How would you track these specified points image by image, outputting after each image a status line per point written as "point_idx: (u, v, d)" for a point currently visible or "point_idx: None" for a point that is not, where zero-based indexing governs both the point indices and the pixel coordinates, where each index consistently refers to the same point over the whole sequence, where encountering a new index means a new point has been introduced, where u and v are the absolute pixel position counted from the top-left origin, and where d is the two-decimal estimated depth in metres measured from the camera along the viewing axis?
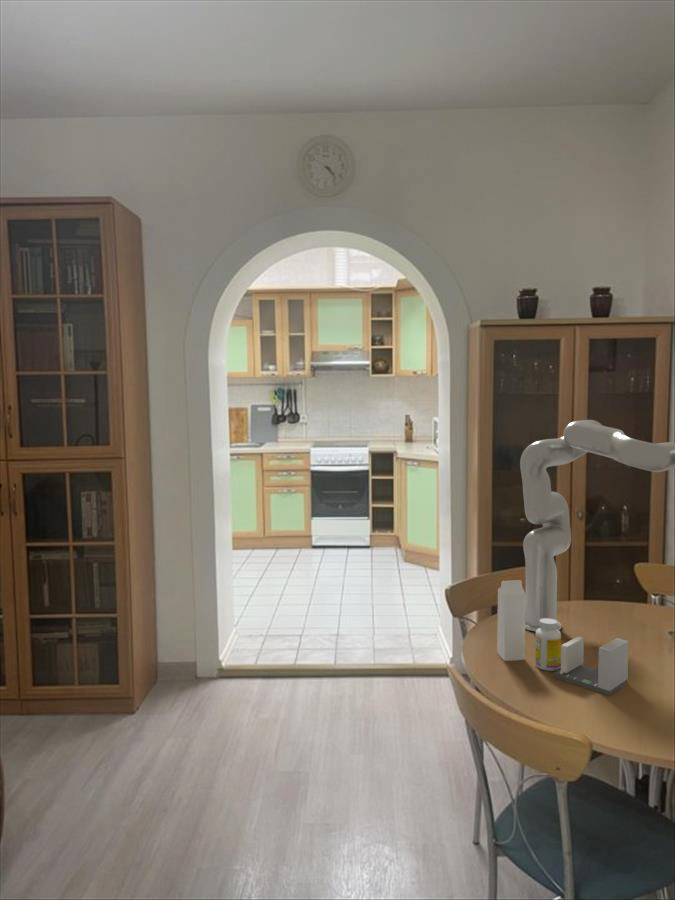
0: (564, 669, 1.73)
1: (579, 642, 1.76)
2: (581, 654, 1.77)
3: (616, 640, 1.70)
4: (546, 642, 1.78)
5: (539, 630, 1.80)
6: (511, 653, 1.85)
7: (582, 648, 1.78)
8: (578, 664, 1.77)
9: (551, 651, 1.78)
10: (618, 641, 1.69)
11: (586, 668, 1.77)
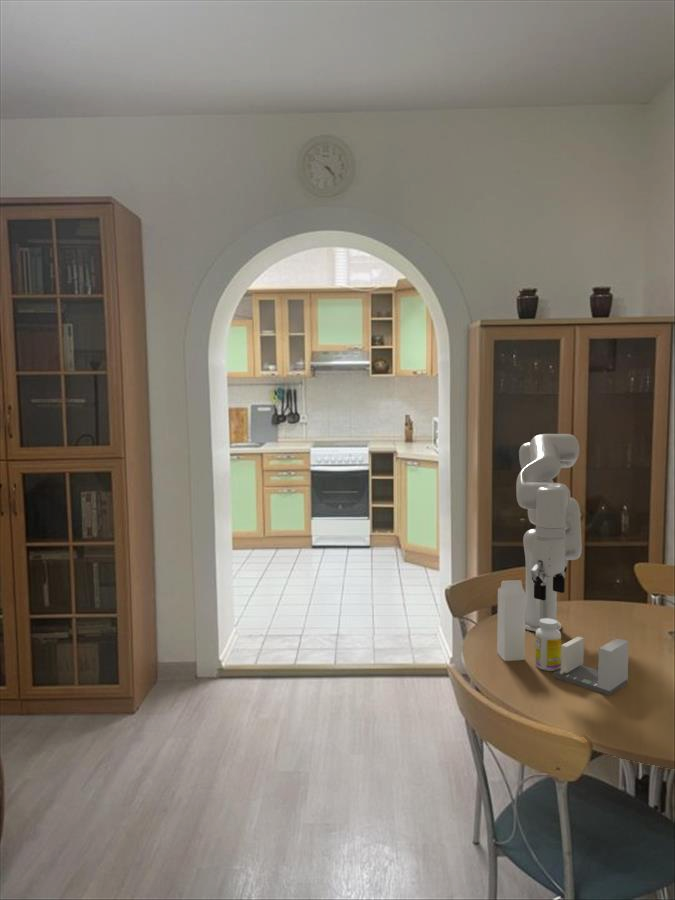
0: (564, 669, 1.73)
1: (579, 642, 1.76)
2: (581, 654, 1.77)
3: (616, 640, 1.70)
4: (546, 642, 1.78)
5: (539, 630, 1.80)
6: (511, 653, 1.85)
7: (582, 648, 1.78)
8: (578, 664, 1.77)
9: (551, 651, 1.78)
10: (618, 641, 1.69)
11: (586, 668, 1.77)
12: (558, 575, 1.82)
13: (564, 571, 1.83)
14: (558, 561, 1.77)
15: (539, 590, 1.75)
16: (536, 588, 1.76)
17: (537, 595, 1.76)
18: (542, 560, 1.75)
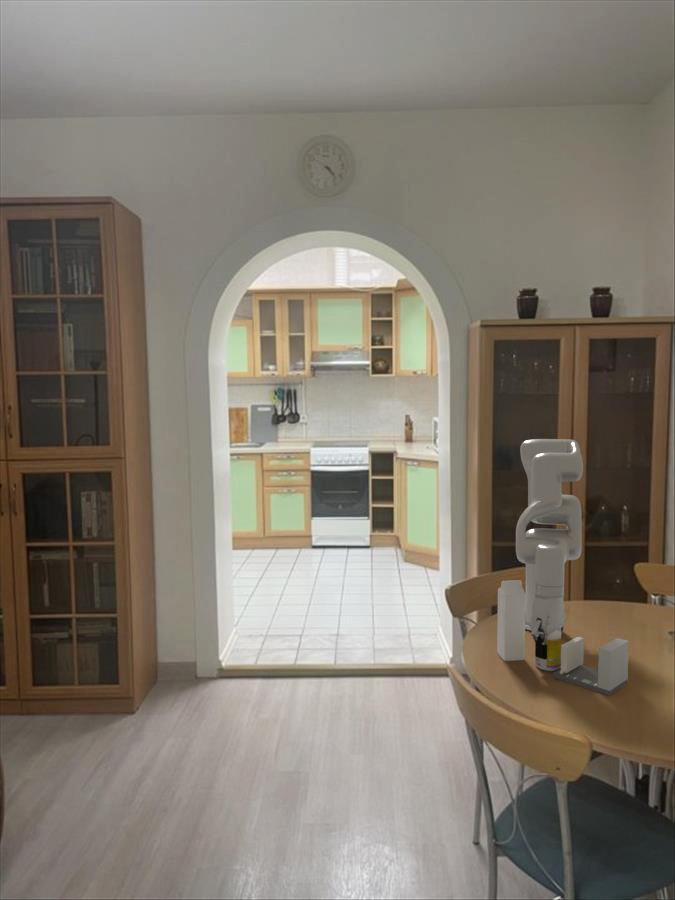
0: (564, 669, 1.73)
1: (579, 642, 1.76)
2: (581, 654, 1.77)
3: (616, 640, 1.70)
4: (546, 642, 1.78)
5: None
6: (511, 653, 1.85)
7: (582, 648, 1.78)
8: (578, 664, 1.77)
9: (551, 651, 1.78)
10: (618, 641, 1.69)
11: (586, 668, 1.77)
12: None
13: (561, 630, 1.84)
14: (557, 618, 1.79)
15: (540, 649, 1.77)
16: (537, 647, 1.78)
17: (538, 654, 1.78)
18: (541, 619, 1.76)
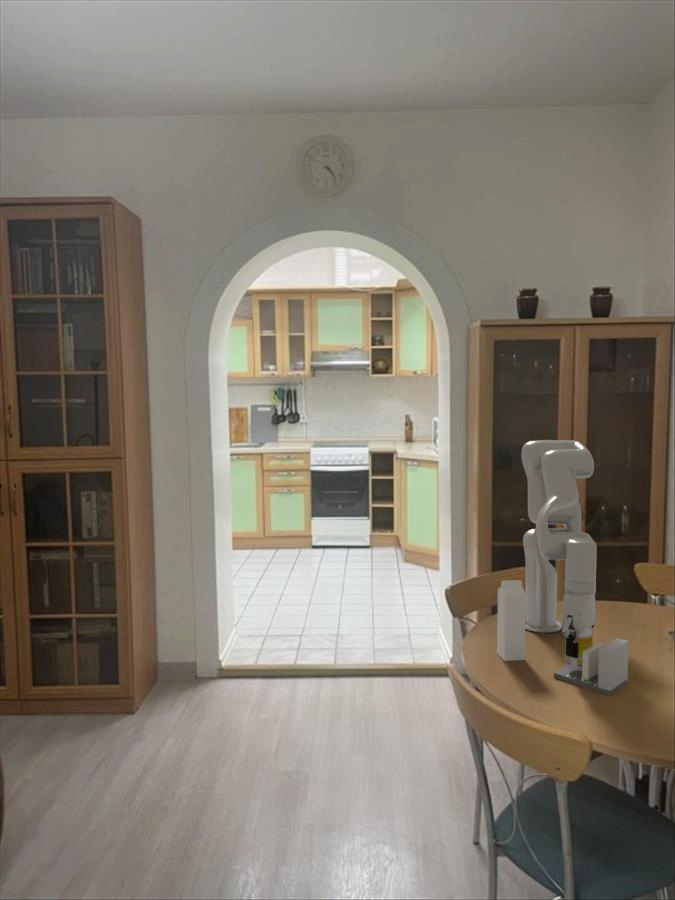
0: (585, 676, 1.69)
1: None
2: None
3: (616, 640, 1.70)
4: (577, 640, 1.71)
5: None
6: (511, 653, 1.85)
7: None
8: None
9: (582, 650, 1.71)
10: (618, 641, 1.69)
11: None
12: None
13: (591, 627, 1.77)
14: (588, 615, 1.72)
15: (571, 648, 1.71)
16: (568, 645, 1.71)
17: (569, 652, 1.71)
18: (572, 617, 1.70)
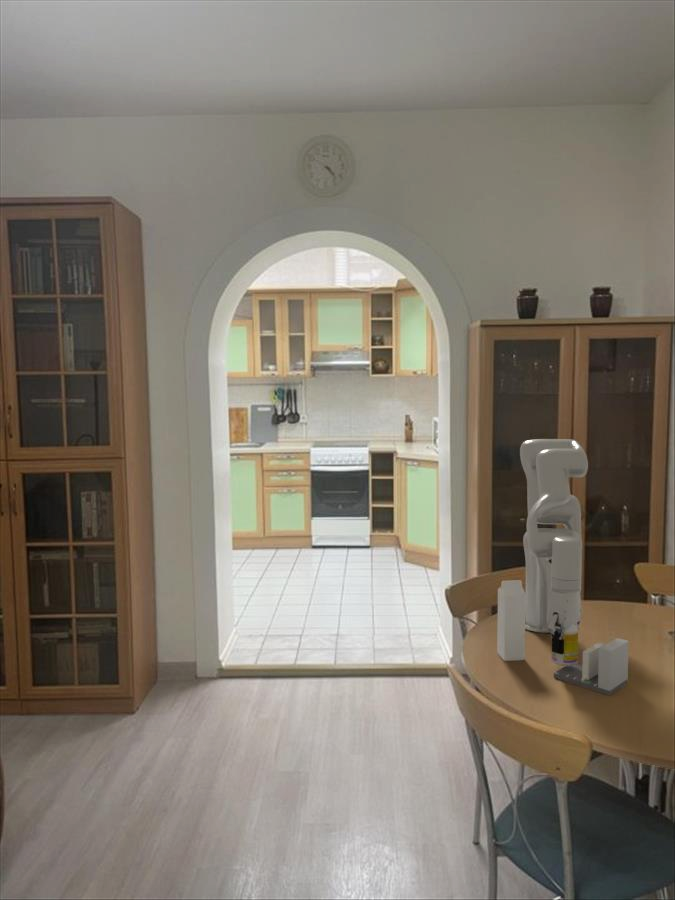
0: (586, 676, 1.68)
1: None
2: None
3: (616, 640, 1.70)
4: (563, 636, 1.74)
5: None
6: (511, 653, 1.85)
7: None
8: None
9: (568, 646, 1.74)
10: (618, 641, 1.69)
11: None
12: None
13: None
14: (574, 612, 1.75)
15: (557, 644, 1.74)
16: (554, 642, 1.75)
17: (555, 649, 1.74)
18: (558, 614, 1.73)
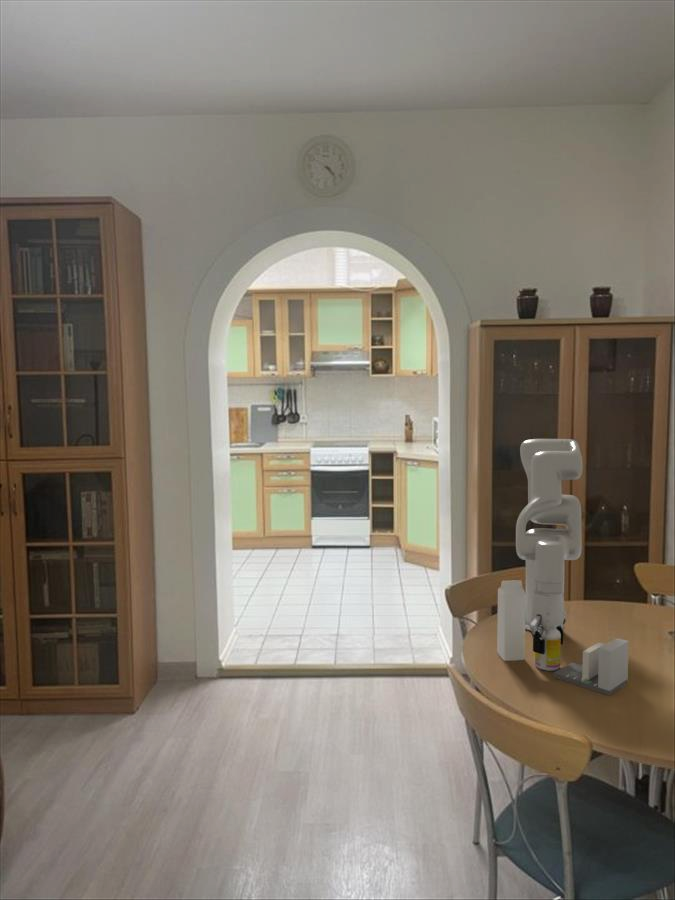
0: (586, 676, 1.68)
1: None
2: None
3: (616, 640, 1.70)
4: (546, 641, 1.78)
5: (539, 630, 1.80)
6: (511, 653, 1.85)
7: None
8: None
9: (550, 651, 1.78)
10: (618, 641, 1.69)
11: None
12: (557, 627, 1.84)
13: (563, 623, 1.84)
14: (557, 615, 1.78)
15: (538, 644, 1.76)
16: (535, 642, 1.77)
17: (536, 649, 1.77)
18: (541, 614, 1.76)
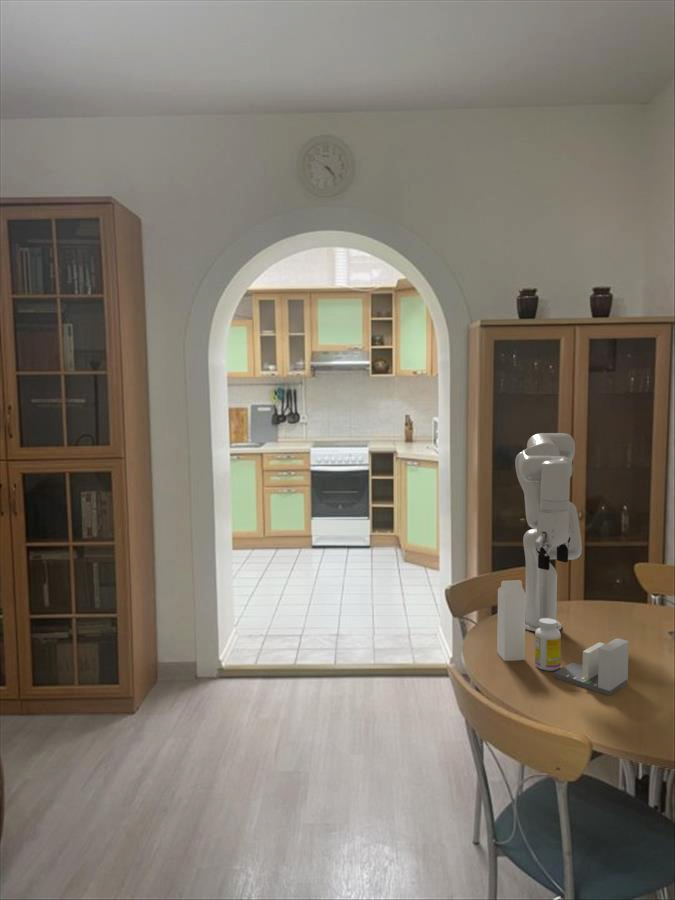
0: (586, 676, 1.68)
1: None
2: None
3: (616, 640, 1.70)
4: (546, 641, 1.78)
5: (539, 630, 1.80)
6: (511, 653, 1.85)
7: None
8: None
9: (550, 651, 1.78)
10: (618, 641, 1.69)
11: None
12: (562, 545, 1.88)
13: (568, 541, 1.89)
14: (562, 532, 1.83)
15: (543, 560, 1.81)
16: (540, 558, 1.82)
17: (541, 565, 1.82)
18: (546, 531, 1.81)
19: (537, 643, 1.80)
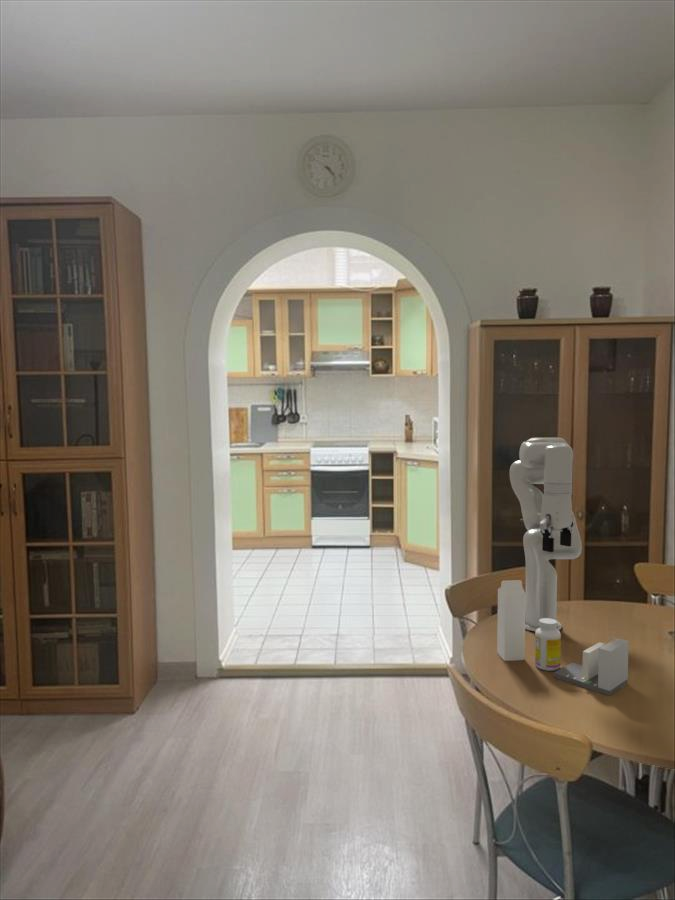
0: (586, 676, 1.68)
1: None
2: None
3: (616, 640, 1.70)
4: (546, 641, 1.78)
5: (539, 630, 1.80)
6: (511, 653, 1.85)
7: None
8: None
9: (550, 651, 1.78)
10: (618, 641, 1.69)
11: None
12: (565, 530, 1.92)
13: (571, 526, 1.93)
14: (565, 515, 1.87)
15: (547, 542, 1.85)
16: (544, 541, 1.85)
17: (545, 547, 1.85)
18: (550, 514, 1.85)
19: (537, 643, 1.80)
